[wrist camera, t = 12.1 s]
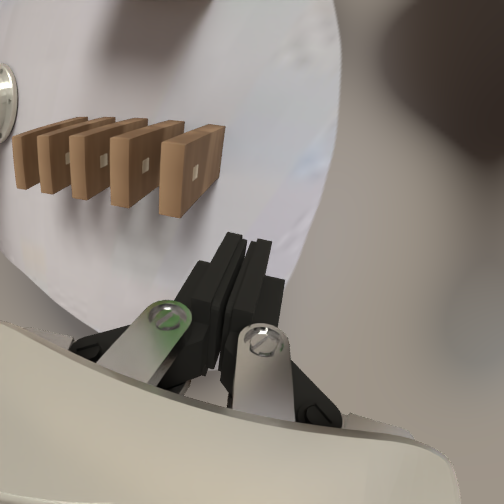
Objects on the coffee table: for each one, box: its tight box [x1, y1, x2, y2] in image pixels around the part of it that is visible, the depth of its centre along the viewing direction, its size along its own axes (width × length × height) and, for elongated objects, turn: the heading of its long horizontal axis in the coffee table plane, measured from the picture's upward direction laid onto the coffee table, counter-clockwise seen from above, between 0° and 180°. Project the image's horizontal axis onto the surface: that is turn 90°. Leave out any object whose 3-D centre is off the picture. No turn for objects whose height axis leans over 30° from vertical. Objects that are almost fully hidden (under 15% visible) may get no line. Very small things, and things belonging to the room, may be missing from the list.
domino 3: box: [69, 118, 148, 200], centre depth 23 cm, size 2×5×10 cm, turn 171°
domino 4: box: [110, 120, 185, 208], centre depth 23 cm, size 2×5×10 cm, turn 171°
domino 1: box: [12, 117, 88, 190], centre depth 24 cm, size 2×5×10 cm, turn 171°
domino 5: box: [159, 124, 225, 218], centre depth 23 cm, size 2×5×10 cm, turn 171°
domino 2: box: [37, 117, 115, 194], centre depth 23 cm, size 2×5×10 cm, turn 171°
